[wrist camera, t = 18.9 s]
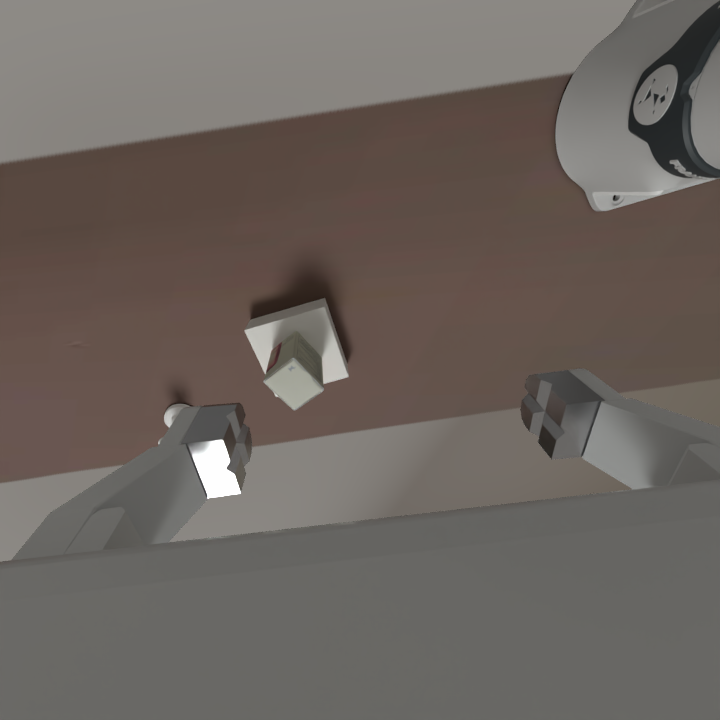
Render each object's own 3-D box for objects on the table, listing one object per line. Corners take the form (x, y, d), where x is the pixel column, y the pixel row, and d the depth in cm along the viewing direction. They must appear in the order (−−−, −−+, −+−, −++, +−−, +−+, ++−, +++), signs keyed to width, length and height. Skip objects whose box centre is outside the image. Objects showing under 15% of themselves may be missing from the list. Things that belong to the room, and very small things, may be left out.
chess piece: (188, 436, 52) (159, 488, 43) (158, 418, 50) (121, 469, 41) (207, 416, 50) (181, 467, 42) (177, 397, 49) (143, 446, 40)
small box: (270, 349, 42) (260, 381, 35) (297, 329, 41) (293, 357, 34) (297, 377, 44) (294, 412, 37) (323, 358, 43) (325, 390, 36)
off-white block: (325, 296, 44) (324, 306, 40) (347, 362, 49) (348, 376, 45) (251, 318, 44) (244, 330, 41) (279, 381, 49) (276, 396, 46)
